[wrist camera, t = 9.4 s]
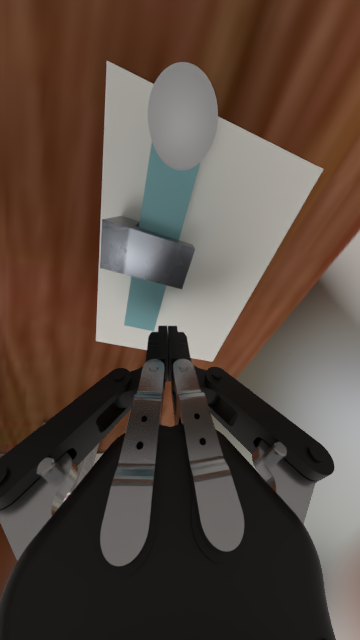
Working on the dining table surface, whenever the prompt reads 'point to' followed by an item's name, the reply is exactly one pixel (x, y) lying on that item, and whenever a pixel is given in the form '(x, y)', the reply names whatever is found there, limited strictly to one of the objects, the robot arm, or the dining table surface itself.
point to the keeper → (144, 253)
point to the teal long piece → (171, 168)
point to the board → (197, 219)
